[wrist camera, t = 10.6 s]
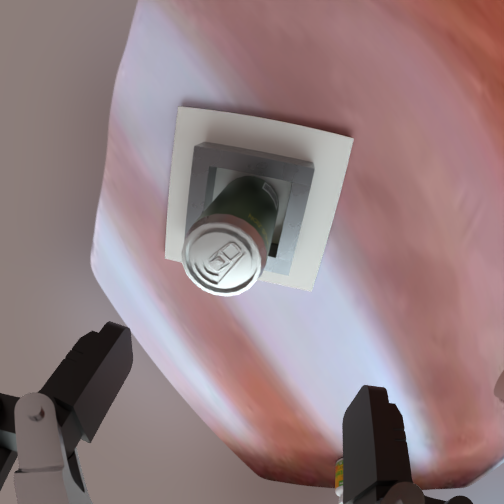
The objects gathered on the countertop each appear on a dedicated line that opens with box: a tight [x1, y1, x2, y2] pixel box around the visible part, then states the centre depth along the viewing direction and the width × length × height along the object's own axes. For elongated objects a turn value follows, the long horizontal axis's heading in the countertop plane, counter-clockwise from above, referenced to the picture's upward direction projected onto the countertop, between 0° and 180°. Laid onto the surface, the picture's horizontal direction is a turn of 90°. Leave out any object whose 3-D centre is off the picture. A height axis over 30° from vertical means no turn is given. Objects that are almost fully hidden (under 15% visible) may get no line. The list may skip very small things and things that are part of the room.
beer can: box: [181, 176, 279, 296], centre depth 25 cm, size 5×5×12 cm
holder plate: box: [165, 106, 354, 292], centre depth 30 cm, size 16×16×1 cm
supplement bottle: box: [335, 458, 343, 504], centre depth 45 cm, size 5×5×10 cm
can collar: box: [184, 142, 315, 276], centre depth 29 cm, size 10×10×3 cm
